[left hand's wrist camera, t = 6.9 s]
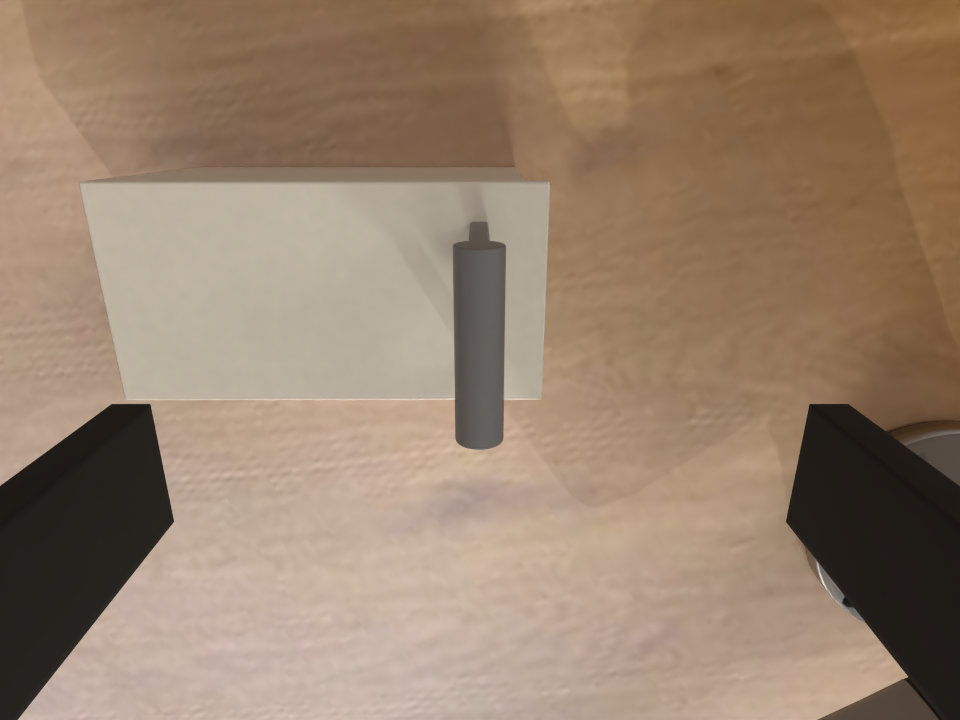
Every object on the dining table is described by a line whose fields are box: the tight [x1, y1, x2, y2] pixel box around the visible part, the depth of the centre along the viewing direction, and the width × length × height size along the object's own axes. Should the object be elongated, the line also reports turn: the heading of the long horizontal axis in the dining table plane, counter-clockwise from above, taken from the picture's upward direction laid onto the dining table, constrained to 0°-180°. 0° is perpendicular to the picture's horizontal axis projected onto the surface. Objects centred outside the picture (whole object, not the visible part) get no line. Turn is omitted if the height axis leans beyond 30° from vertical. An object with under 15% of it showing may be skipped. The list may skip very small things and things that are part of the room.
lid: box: [79, 180, 550, 450], centre depth 23 cm, size 18×9×8 cm, turn 90°
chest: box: [97, 167, 528, 180], centre depth 31 cm, size 18×9×10 cm, turn 90°
